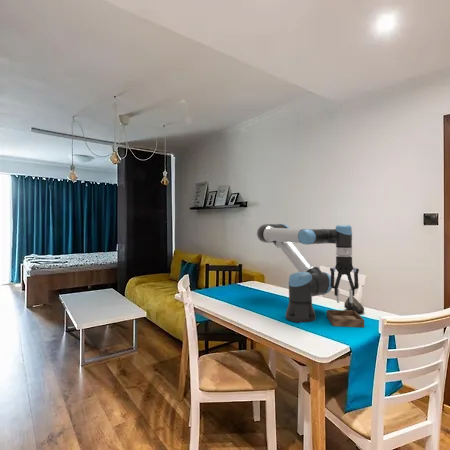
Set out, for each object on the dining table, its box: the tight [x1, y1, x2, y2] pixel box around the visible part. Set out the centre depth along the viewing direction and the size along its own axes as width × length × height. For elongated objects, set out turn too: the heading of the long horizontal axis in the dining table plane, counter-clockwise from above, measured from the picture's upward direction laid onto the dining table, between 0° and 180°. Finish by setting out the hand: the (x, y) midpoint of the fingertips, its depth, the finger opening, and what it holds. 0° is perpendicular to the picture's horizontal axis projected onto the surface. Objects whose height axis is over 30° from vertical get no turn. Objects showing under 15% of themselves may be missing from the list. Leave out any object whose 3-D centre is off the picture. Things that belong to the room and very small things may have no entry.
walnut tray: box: [326, 309, 365, 328], centre depth 148 cm, size 14×15×4 cm
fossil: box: [343, 296, 365, 313], centre depth 165 cm, size 11×9×10 cm
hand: (344, 302), depth 148 cm, fingers open, 5 cm apart
